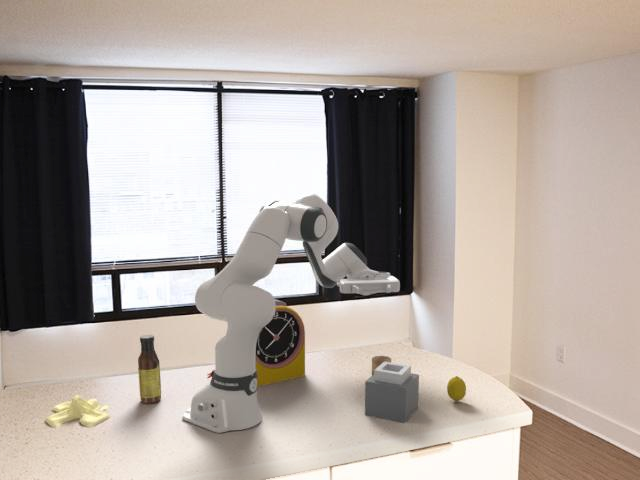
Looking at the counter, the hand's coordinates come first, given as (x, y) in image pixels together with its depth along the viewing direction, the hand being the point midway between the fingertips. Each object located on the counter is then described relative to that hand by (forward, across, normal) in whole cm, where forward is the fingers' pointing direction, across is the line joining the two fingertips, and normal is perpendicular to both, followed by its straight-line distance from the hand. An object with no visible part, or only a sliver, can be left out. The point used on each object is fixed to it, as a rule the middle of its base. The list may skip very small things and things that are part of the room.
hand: (374, 290), depth 199 cm
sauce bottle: (+8, -70, +30) cm, 77 cm away
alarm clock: (-7, -33, +30) cm, 45 cm away
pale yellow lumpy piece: (+14, -89, +31) cm, 95 cm away
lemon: (+21, +21, +30) cm, 42 cm away
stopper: (+12, 0, +30) cm, 32 cm away
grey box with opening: (+25, 0, +30) cm, 39 cm away
